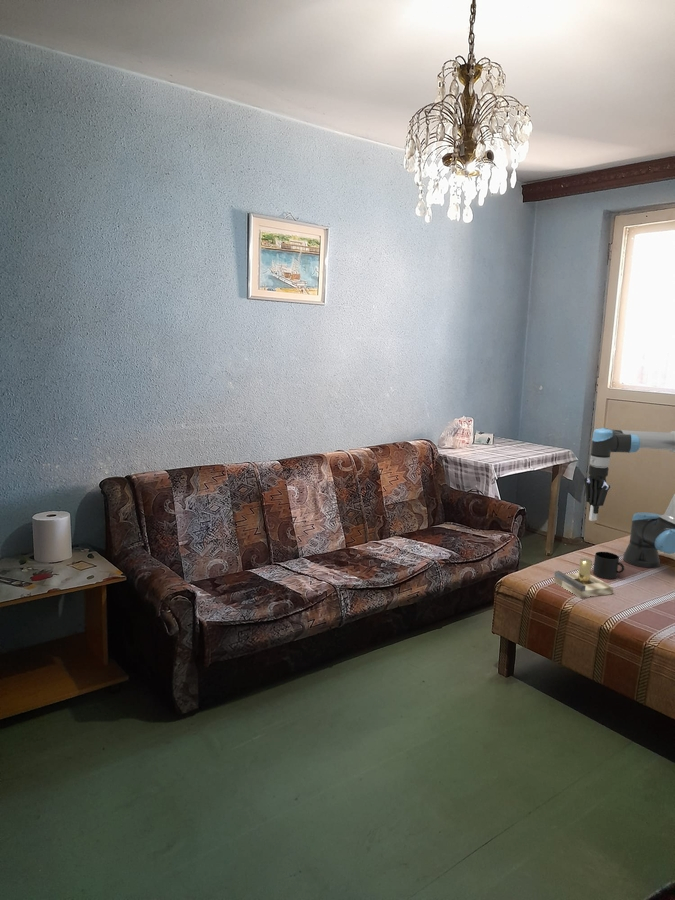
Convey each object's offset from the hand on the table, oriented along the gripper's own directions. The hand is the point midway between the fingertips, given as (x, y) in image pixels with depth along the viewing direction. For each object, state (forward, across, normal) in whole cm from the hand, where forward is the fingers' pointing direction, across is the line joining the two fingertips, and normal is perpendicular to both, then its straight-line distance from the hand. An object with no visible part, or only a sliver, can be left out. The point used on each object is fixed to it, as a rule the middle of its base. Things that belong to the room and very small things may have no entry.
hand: (592, 520), depth 270 cm
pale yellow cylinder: (+24, +12, -12) cm, 30 cm away
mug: (+25, +4, +8) cm, 26 cm away
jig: (+24, +12, -12) cm, 30 cm away
